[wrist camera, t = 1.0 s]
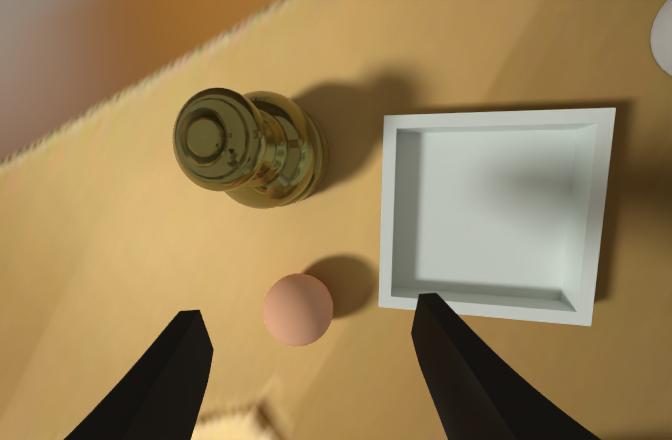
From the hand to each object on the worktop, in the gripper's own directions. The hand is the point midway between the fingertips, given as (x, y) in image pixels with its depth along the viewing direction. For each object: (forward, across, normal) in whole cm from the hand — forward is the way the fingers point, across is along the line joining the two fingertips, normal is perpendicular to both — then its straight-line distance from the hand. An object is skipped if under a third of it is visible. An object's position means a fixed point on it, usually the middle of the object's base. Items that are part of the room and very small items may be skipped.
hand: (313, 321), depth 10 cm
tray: (+10, -11, +2) cm, 16 cm away
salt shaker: (+16, +2, 0) cm, 16 cm away
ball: (+11, 0, +10) cm, 14 cm away
